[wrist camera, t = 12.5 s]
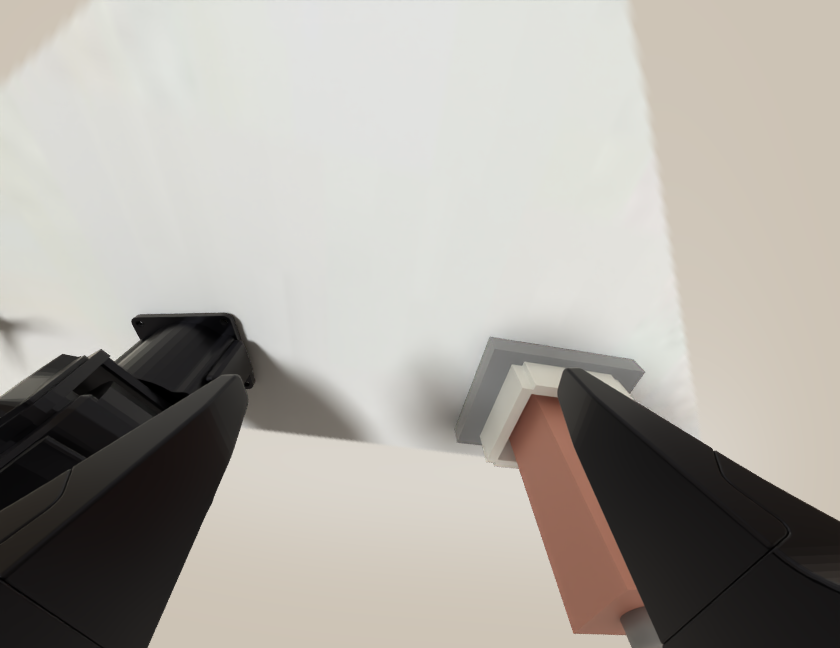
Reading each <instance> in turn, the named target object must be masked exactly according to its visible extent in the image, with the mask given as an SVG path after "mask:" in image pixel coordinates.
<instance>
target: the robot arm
mask: <svg viewBox="0 0 840 648" xmlns="http://www.w3.org/2000/svg"><path fill="white" fill-rule="evenodd" d="M223 319H225V320H227V322H225V321H223ZM140 321H141V322H143V323H141V322H140ZM131 322H132V325H133V327H134V329H135V331H136V332H137V334H138V336H139V338H140V341H139V342H138V343H136V344H135V345H134V346H133V347H131V348H130V349H129V350H128V351H127V352H125V353H124V354H123V355H122V356H120V357H119V358H118V359H117V360H116V361H113V360H112V359H110V358H109V357H110V355H108V354H107V353H106V352H104V351H103V350H102V349H100V350H98V351H97V352H95V353H93V354H92V355H90V356H88V357H86V356H85V355H84V356H82V357H81V356H80V357H76V356H70V355H65V354H62V355H60V356H59V357H57V358H55V359H54V360H52V361H51V362H49V363H48V364H46V365H45V366H43V367H42V368H40V369H39V370H37V371H36V372H35V373H33V374H32V375H30V376H29V377H27V378H26V379H24V380H23V381H21V382H20V383H18V384H17V385H16V386H14V387H13V388H11V389H10V390H9V391H7V392H6V393H5V394H3V395H2V396H0V648H148V645H149V643H150V641H151V638H152V636H153V634H154V632H155V629H156V627H157V625H158V622H159V620H160V618H161V616H162V614H163V611H164V609H165V607H166V604H167V602H168V600H169V598H170V595H171V593H172V591H173V588H174V586H175V584H176V582H177V579H178V577H179V575H180V573H181V570H182V568H183V566H184V563H185V561H186V559H187V557H188V554H189V552H190V550H191V548H192V545H193V543H194V541H195V538H196V536H197V534H198V531H199V529H200V527H201V525H202V522H203V520H204V518H205V516H206V513H207V512H208V510H209V508H210V506H211V504H212V501H213V498H214V496H215V493H216V491H217V488H218V486H219V484H220V481H221V479H222V477H223V474H224V472H225V470H226V468H227V465H228V463H229V461H230V458H231V455H232V453H233V450H234V447H235V444H236V441H237V438H238V434H239V431H240V428H241V425H242V422H243V419H244V415H245V412H246V409H247V406H248V395H247V392H246V390H245V389H251V388H252V387H253V385H254V384H255V379H254V376H253V373H252V370H253V368H252V366H251V363H250V360H249V357H248V354H247V351H246V348H245V345H244V343H243V342H242V341H241V338H240V335H239V332H238V329H237V326H236V324H235V321H234V318H233V317H232V316H231V315H230V314H228V313H187V314H140V315H137V316H136V317H134V318H133V319H132V321H131ZM247 382H248V383H247ZM557 396H558V400H559V403H560V406H561V409H562V412H563V416H564V419H565V422H566V425H567V428H568V431H569V434H570V437H571V440H572V443H573V446H574V449H575V451H576V453H577V456H578V458H579V460H580V462H581V465H582V467H583V469H584V471H585V474H586V476H587V478H588V480H589V483H590V485H591V487H592V489H593V492H594V494H595V496H596V498H597V501H598V503H599V505H600V507H601V510H602V512H603V514H604V516H605V519H606V521H607V523H608V525H609V528H610V530H611V532H612V534H613V537H614V539H615V541H616V543H617V546H618V548H619V550H620V552H621V555H622V557H623V559H624V561H625V564H626V566H627V568H628V570H629V573H630V575H631V577H632V579H633V581H634V584H635V586H636V588H637V590H638V593H639V595H640V597H641V599H642V602H643V604H644V606H645V608H646V611H647V613H648V615H649V617H650V620H651V622H652V624H653V626H654V629H655V631H656V633H657V635H658V638H659V640H660V642H661V644H663V646H662V647H663V648H840V521H838V520H836V519H834V518H833V517H831V516H829V515H827V514H825V513H824V512H822V511H820V510H818V509H816V508H814V507H813V506H811V505H809V504H807V503H805V502H803V501H802V500H800V499H798V498H796V497H794V496H792V495H791V494H789V493H787V492H785V491H784V490H782V489H780V488H778V487H776V486H775V485H773V484H771V483H769V482H768V481H766V480H764V479H762V478H761V477H759V476H757V475H756V474H754V473H752V472H751V471H749V470H747V469H745V468H744V467H742V466H740V465H739V464H737V463H735V462H734V461H732V460H730V459H729V458H727V457H726V456H724V455H722V454H720V453H719V452H717V451H713V449H712V448H711V447H709V446H708V445H706V444H704V443H703V442H701V441H699V440H698V439H696V438H694V437H693V436H691V435H690V434H688V433H686V432H685V431H683V430H681V429H680V428H678V427H676V426H675V425H673V424H672V423H670V422H668V421H667V420H665V419H663V418H662V417H660V416H658V415H657V414H655V413H654V412H652V411H650V410H649V409H647V408H645V407H644V406H642V405H641V404H639V403H637V402H636V401H634V400H632V399H631V398H629V397H627V396H626V395H624V394H623V393H621V392H619V391H618V390H616V389H614V388H613V387H611V386H609V385H608V384H606V383H605V382H603V381H601V380H600V379H598V378H596V377H595V376H593V375H591V374H590V373H588V372H587V371H585V370H583V369H582V368H578V367H574V368H565V369H564V370H563V372H562V376H561V379H560V382H559V386H558V390H557Z"/></svg>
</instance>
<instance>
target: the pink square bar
mask: <svg viewBox="0 0 840 648" xmlns="http://www.w3.org/2000/svg"><path fill="white" fill-rule="evenodd" d="M509 440H510V443H511V446H512V449H513V452H514V455H515V458H516V461H517V464H518V467H519V470H520V473H521V476H522V479H523V482H524V485H525V488H526V491H527V494H528V497H529V500H530V504H531V506H532V509H533V513H534V516H535V519H536V521H537V525H538V527H539V531H540V534H541V537H542V540H543V542H544V546H545V549H546V551H547V555H548V558H549V561H550V564H551V567H552V570H553V573H554V576H555V579H556V582H557V585H558V588H559V591H560V594H561V597H562V600H563V603H564V606H565V609H566V612H567V615H568V618H569V621H570V624H571V627H572V630H573V633H574V634H608V635H627V637H628V640H629V642H630V645H631V647H632V648H663V647H662V646H663V644H661V642H660V640H659V638H658V635H657V633H656V631H655V629H654V626H653V624H652V622H651V620H650V617H649V615H648V613H647V611H646V608H645V606H644V604H643V602H642V599H641V597H640V595H639V593H638V590H637V588H636V586H635V584H634V581H633V579H632V577H631V575H630V573H629V570H628V568H627V566H626V564H625V561H624V559H623V557H622V555H621V552H620V550H619V548H618V546H617V543H616V541H615V539H614V537H613V534H612V532H611V530H610V528H609V525H608V523H607V521H606V519H605V516H604V514H603V512H602V510H601V507H600V505H599V503H598V501H597V498H596V496H595V494H594V492H593V489H592V487H591V485H590V483H589V480H588V478H587V476H586V474H585V471H584V469H583V467H582V465H581V462H580V460H579V458H578V456H577V453H576V451H575V449H574V446H573V443H572V440H571V437H570V434H569V431H568V428H567V425H566V422H565V419H564V416H563V412H562V409H561V406H560V403H559V400H558V397H550V396H543V395H536V394H531V396H530V398H529V400H528V402H527V404H526V405H525V407H524V409H523V411H522V413H521V415H520V417H519V419H518V421H517V423H516V425H515V427H514V429H513V431H512V433H511V435H510V437H509Z"/></svg>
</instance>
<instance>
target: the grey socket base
mask: <svg viewBox="0 0 840 648" xmlns="http://www.w3.org/2000/svg"><path fill="white" fill-rule="evenodd" d="M574 367H578V368H582V369H583V370H585V371H587V372H588V373H590V374H591V375H593V376H595V377H596V378H598V379H600V380H601V381H603V382H605V383H606V384H608V385H609V386H611V387H613V388H614V389H616V390H618V391H619V392H621V393H623V394H624V395H626V396H627V397H629V398H631V399H632V400H634V399H633V398H632V397H631V395H630V392H631V391H632V390H633V388H634V387H635V385H636V384H637V383H638V381H639V380H640V379H641V377H642V376H643V374H644V373H645V371H644V370H643V369H642V368H641V367H640V366H639V365H638V364H637V363H636V362H635V361H634V360H632V359H626V358H619V357H613V356H607V355H601V354H594V353H588V352H582V351H575V350H569V349H563V348H556V347H550V346H544V345H538V344H531V343H525V342H519V341H512V340H506V339H500V338H493V337H490V338H489V341H488V343H487V346H486V348H485V351H484V354H483V356H482V359H481V362H480V364H479V367H478V369H477V372H476V375H475V377H474V380H473V382H472V385H471V388H470V390H469V393H468V396H467V398H466V401H465V403H464V406H463V409H462V411H461V414H460V416H459V419H458V422H457V424H456V427H455V433H456V439H457V443H466V444H475V445H482V447H483V451H484V455H485V459H486V462H491V463H493V464H494V466H497V467H507V468H517V469H519V467H518V464H517V461H516V458H515V455H514V452H513V449H512V446H511V443H510V440H509V437H510V435H511V433H512V431H513V429H514V427H515V425H516V423H517V421H518V419H519V417H520V415H521V413H522V411H523V409H524V407H525V405H526V404H527V402H528V400H529V398H530V396H531V394H536V395H543V396H550V397H558V396H557V390H558V386H559V382H560V379H561V376H562V372H563V370H564V369H565V368H574ZM634 401H635V400H634Z"/></svg>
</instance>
